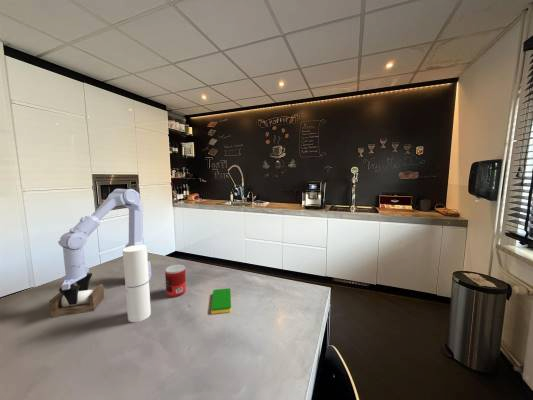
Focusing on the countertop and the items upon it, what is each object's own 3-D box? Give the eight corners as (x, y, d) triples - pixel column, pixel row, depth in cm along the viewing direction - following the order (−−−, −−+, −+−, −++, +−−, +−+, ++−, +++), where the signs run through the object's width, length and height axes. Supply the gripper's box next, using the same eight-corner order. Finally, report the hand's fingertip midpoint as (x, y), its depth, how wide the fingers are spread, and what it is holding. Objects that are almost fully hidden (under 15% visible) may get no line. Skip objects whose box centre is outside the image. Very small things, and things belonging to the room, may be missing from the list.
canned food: (189, 288, 98) (188, 264, 97) (180, 298, 90) (179, 272, 89) (172, 287, 99) (171, 263, 98) (162, 297, 91) (161, 271, 90)
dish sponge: (211, 315, 80) (211, 309, 80) (213, 295, 93) (213, 289, 93) (231, 313, 81) (231, 306, 81) (230, 293, 95) (230, 287, 94)
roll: (94, 298, 88) (93, 287, 87) (88, 306, 83) (86, 294, 82) (69, 302, 86) (68, 290, 85) (62, 310, 81) (60, 297, 80)
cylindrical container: (140, 323, 75) (135, 252, 72) (122, 320, 76) (117, 250, 73) (155, 310, 82) (151, 245, 79) (138, 308, 83) (134, 244, 80)
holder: (104, 297, 91) (102, 283, 90) (94, 310, 82) (92, 295, 81) (65, 303, 87) (64, 288, 86) (50, 317, 78) (49, 301, 78)
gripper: (72, 258, 88) (76, 290, 90) (49, 273, 74) (53, 311, 76) (93, 256, 90) (96, 287, 92) (74, 271, 76) (78, 307, 78)
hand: (78, 298), depth 84 cm, fingers open, 7 cm apart
